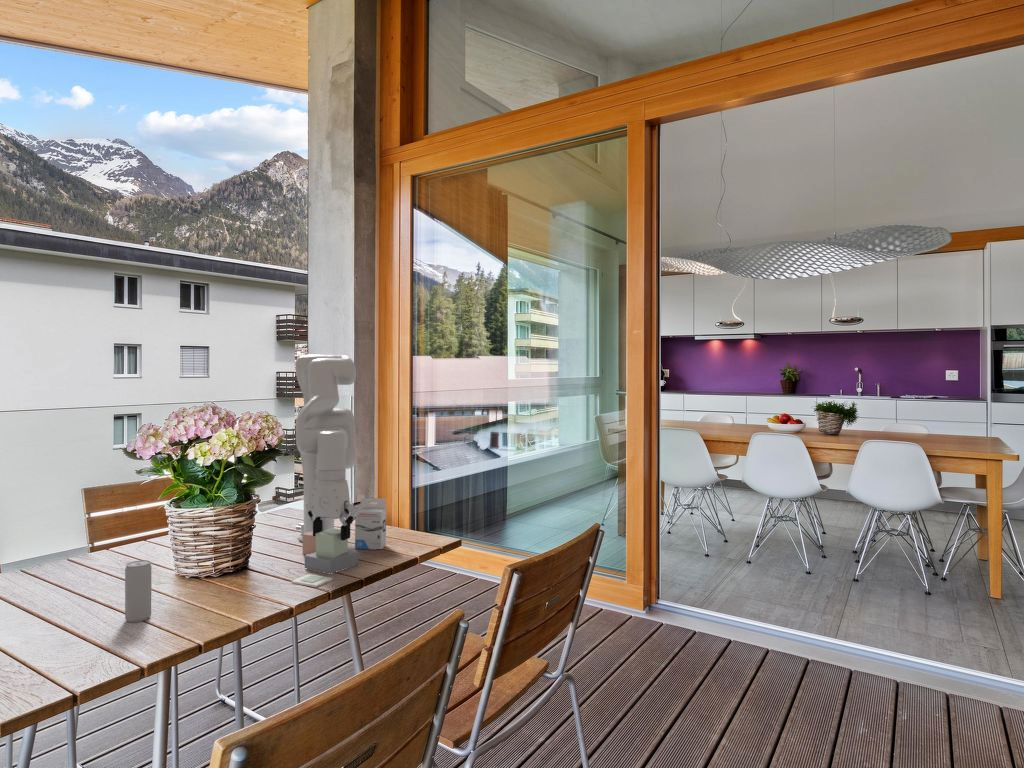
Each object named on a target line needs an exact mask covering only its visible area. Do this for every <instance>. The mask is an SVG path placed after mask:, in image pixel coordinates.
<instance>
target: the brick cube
mask: <svg viewBox="0 0 1024 768" xmlns="http://www.w3.org/2000/svg"><path fill="white" fill-rule="evenodd" d="M314 552H316V536H313V531H311V532H308V533H305V534H303V542H302V555H304V554H311V553H314Z"/></svg>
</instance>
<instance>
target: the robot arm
mask: <svg viewBox="0 0 1024 768" xmlns="http://www.w3.org/2000/svg"><path fill="white" fill-rule="evenodd" d="M294 366H295V367H294V368H295V375H296V380H297V383H298V385H299V389H300V390H301V393H302V396H303V397H302V398H303V406H302V408H301V409H300V410H299V412H298V415H297V416H296V420H295V439H296V440H295V443H296V448H297V451H298V452H299V453H300V461H301V468H302V480H303V522H299V523H298V524H297V525H296V527H295V530H296V531H300V532H301V533H300V534H299V535H298V541H300V542H302V543H303V534H305V533H308V532H311V531H313V536H316V533H319V532H322V531H324V530H327V529H330V528H331V529H335V520H337V519H338V520H339V521H340V523H341V524H342V525H341V526H340V529H341V540H346V539H350V538H351V525H352V524H353V523H354V522H355V518H356V515H357V513H358V509H359V508H357V507H355V506H354V505H353V504H351V502H350V501H351V499H350V489H349V484H348V480H346V479H347V478H346V477H347V475H346V473H347V472H346V470H349V469H352V468H354V467H355V466H356V464H357V457H358V455H357V435H356V422H355V416H354V413H353V411H352V410H351V409H348V408H344V407H343V408H338V407H337V408H335V407H336V406H338V404H339V402H340V397H339V394H340V393H339V387H338V386H351V385H353V384H354V383H355V381H356V378H357V369H356V365H355V362H354V360H353V359H352V358H351V357H350V356H348V355H344V354H319V353H318V354H317V353H316V354H315V353H314V354H305V355H301V356H299V357H297V358H296V360H295V365H294Z"/></svg>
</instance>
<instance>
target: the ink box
mask: <svg viewBox="0 0 1024 768" xmlns="http://www.w3.org/2000/svg"><path fill="white" fill-rule="evenodd" d="M386 500H387V499H386V498H375V497H373V498H372V497H368V498H367V497H366V498H365V497H362V498H360V507H359V508H357V509H358V513H357V515H356V518H355V520H354V527H355V529H354V548H355V550H376V549H382V550H383V549H384V548H385V547H386V545H387V506H386V505H387V503H386V502H387V501H386ZM372 502H374V503H372Z"/></svg>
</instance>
